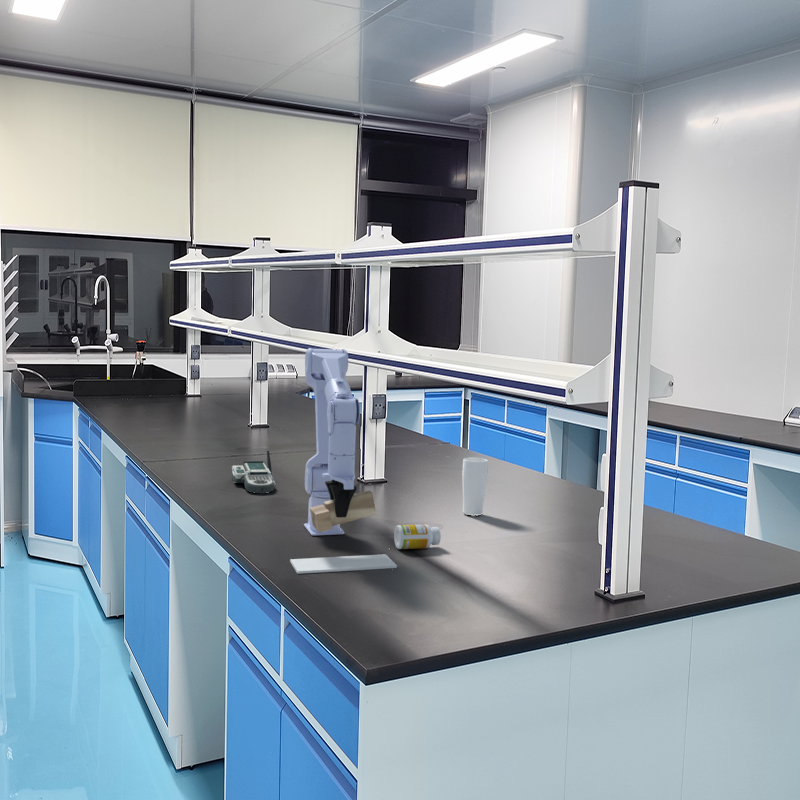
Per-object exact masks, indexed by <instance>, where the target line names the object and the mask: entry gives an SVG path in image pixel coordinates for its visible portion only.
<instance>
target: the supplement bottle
mask: <svg viewBox="0 0 800 800" xmlns="http://www.w3.org/2000/svg"><path fill="white" fill-rule="evenodd" d="M393 534H394V535H393V540H394V545H395V548H396V549H398V550H411V549H412V550H414V549H415V550H416V549H417V550H419V549H427V548H430V546H431V545H432V546H437V545H440V543H441V540H442V539H441V537H442V535H441V530H440V528H439V527H438V526H432V527H430V525H428V524H398V525H396V526H395V528H394V533H393Z"/></svg>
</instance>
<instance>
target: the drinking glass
mask: <svg viewBox="0 0 800 800" xmlns="http://www.w3.org/2000/svg"><path fill="white" fill-rule="evenodd" d="M488 471H489V460H488V459H486V458H482V457H472V456H471V457H464V458H463V460H462V470H461V472H462V473H461V475H462V476H461V479H462V480H461V482H462V484H461V485H462V513H463V512H464V513H466V514H473V515H474V514H481V513H482V514H483V512H484V503H485V496H486V488H487V482H488ZM464 513H463V514H464Z"/></svg>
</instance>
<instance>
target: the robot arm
mask: <svg viewBox="0 0 800 800" xmlns="http://www.w3.org/2000/svg"><path fill="white" fill-rule="evenodd" d="M304 356H305V357H304V359H305V360H304V370H305V371H304V372H305V376H304V377H305V380H306V385H308V386H310V387H311V388H312V390H313V394H314V402H315V403H314V409H315V410H314V411H315V439H316V440H315V441H316V443H315V444H316V445H315V446H316V453H315V454H314V455H313V456H312V457H310V458H309V459H308V460H307V462H306V463H305V470H304V471H305V472H304V489H305V491H306V493H307V494H309V495H310V497H309V498H308V510H307V513H308V514H307V515H308V516H307V523H303V526H304V527H305V528H306V530H307V531H308V533H309V534H310V535H311V536H332V535H333V536H334V535H335V536H336V535H345V531H344V530H343V529H342V528H341V524H338V525H334V526H332V529H330V530H326V531H322V532H318V531H317V529H316V528H315V527H314V526H313V523H312V518H311V512H310V508H311V507H315V506H319V505H324V502H326V501H330V500H334V504H335V513H336V517H346V516H347V513H348V509H349V505H350V501H351V499H352V497H353V495H354V494H356V491H357V489H358V487H357V486H356V485H355V478H356V473H355V465H356V464H355V462H356V460H355V459H356V437H357V435H356V434H357V426H358V425H359V423H360V419H361V418H360V415H361V408H360V407H361V406H360V402H359V401H360V400H359V398H358V397H356V396H353V393H352V390H351V386H350V384H349V382H348V381H347V380H346V375H347V372H348V369H349V354H348V351H347V350H346V349H345V348H342V349H329V348H327V349H326V348H312V347H309V348H307V349H306V350H305V355H304Z"/></svg>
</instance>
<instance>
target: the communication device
mask: <svg viewBox="0 0 800 800" xmlns="http://www.w3.org/2000/svg"><path fill="white" fill-rule="evenodd" d="M266 459H267V464H266V462H265V460H262V461H261V460H252V461H248V460H246V461H245V460H244V461H243V462H242V464H241V465H232V466H231V478H232V477H233V479H234V481H235V482H236V483H243V484H242V485H244V487H245V490H246V491H247V492H248V491H249V492H255V493H266V492H271V491H272V492H273V491H274V490H275V489H274V488H275V487H277V483H276V481H275V480H274V478H273V475H272V474H273V471H272V462H271V456H270V451H269V450H267V451H266ZM233 479H232V480H233ZM234 481H233V482H234ZM249 492H248V493H249ZM272 492H271V493H272Z"/></svg>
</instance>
